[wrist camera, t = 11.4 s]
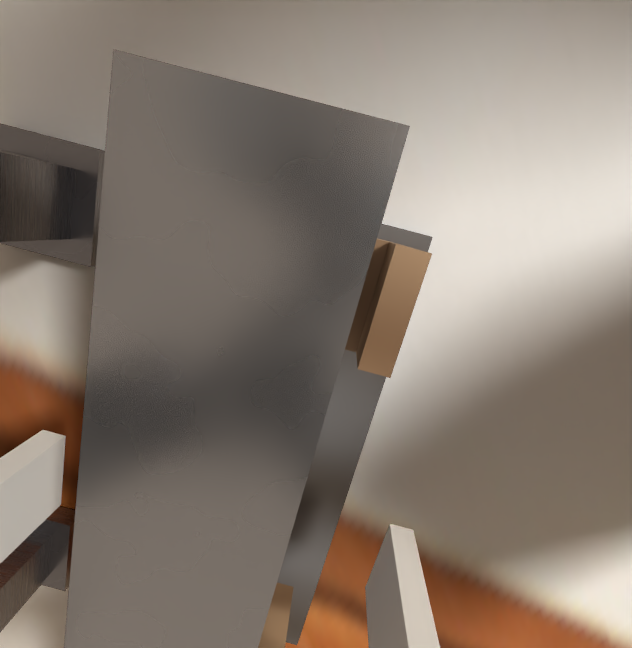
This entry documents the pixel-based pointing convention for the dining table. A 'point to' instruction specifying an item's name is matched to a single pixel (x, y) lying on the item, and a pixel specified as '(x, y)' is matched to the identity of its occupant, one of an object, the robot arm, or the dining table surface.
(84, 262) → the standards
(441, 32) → the dining table surface
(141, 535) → the rail
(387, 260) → the bench rests
